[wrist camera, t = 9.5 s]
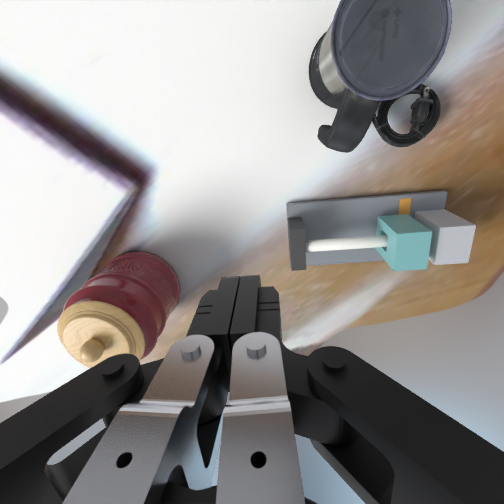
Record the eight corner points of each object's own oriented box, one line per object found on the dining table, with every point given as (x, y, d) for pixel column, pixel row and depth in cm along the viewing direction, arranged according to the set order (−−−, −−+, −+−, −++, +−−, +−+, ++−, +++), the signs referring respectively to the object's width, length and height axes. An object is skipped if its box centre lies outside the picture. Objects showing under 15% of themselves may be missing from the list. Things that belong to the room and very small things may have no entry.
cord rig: (286, 203, 44) (289, 219, 36) (443, 190, 42) (480, 204, 34) (289, 263, 48) (293, 289, 40) (433, 254, 46) (464, 280, 38)
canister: (166, 241, 48) (112, 304, 31) (191, 308, 52) (156, 391, 36) (94, 257, 49) (8, 323, 33) (125, 319, 54) (63, 403, 38)
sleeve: (377, 216, 42) (397, 233, 35) (406, 213, 42) (432, 231, 35) (375, 248, 44) (393, 271, 37) (403, 246, 44) (426, 269, 37)
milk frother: (308, 23, 35) (332, -37, 21) (449, 10, 34) (568, -64, 20) (307, 150, 41) (325, 165, 27) (427, 142, 39) (509, 154, 26)
